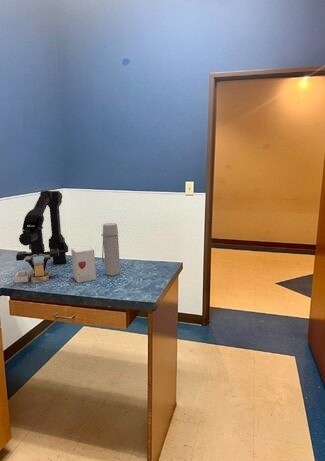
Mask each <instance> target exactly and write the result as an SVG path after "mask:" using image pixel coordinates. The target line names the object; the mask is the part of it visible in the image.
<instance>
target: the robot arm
mask: <svg viewBox="0 0 325 461" xmlns="http://www.w3.org/2000/svg"><path fill="white" fill-rule="evenodd" d="M62 201H63V193H61V192H60V190H41V191H40V193H39V196H38V199H37V200H36V202H35V204H34V207H33V208H32V209H31V210H29V211H28V212H27V213H26V215H25V217H24V220H23V224H22V228H21V229H22V233H20V235H19V238H18V240H19V243H20V244H21V245H23V246H25V247H27V246H28V249H29V250H30V252H28V253H27V251H18V252H17V253H16V255H15V260H16V261H25V263H26V262H27V263H28V264H29V265H30V267H31V269H32V271H33V273H35V270H34V265H35V261H34V258H35V257H43V263H44V271H45V272H46V268H47V264H48V261H49V260H51V258H52V263H53V264H54V266H55V265H63V264H67V261H68V260H67V254H66V253H69V245H68V244H67V243H66V240H65V239H66V238H65V237H64V235H63V234H62V229H61V217H60V216H61V215H60V206H61V205H62V203H63V202H62ZM47 207H48V208H49V216H50V217H49V218H50V229H51V231H50V232H51V236H50V237H49V238H48V249H49V250H48V251H46V249H45V244H44V239H43V238H44V237H43V236H44V235H43V229H44V227H43V225H44V221H45V216H44V214H45V213H44V212H46V209H47Z"/></svg>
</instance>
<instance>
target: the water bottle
mask: <svg viewBox="0 0 325 461" xmlns="http://www.w3.org/2000/svg"><path fill="white" fill-rule="evenodd" d="M101 237H102V255H101V257H102V258H101V259H102V264H104V268H105V269H104V271H105V274H106V275H107V276H117V275H119V274H120V272H121V266H120V264H121V263H120V261H121V260H120V249H119V248H120V244H119V230H118V225H117V223H116V222H106V223H103V224H102V233H101Z"/></svg>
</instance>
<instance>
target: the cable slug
mask: <svg viewBox="0 0 325 461" xmlns="http://www.w3.org/2000/svg"><path fill="white" fill-rule="evenodd" d="M18 272H19V274H18V276H19V277H21V276H26V275H27V272H28V271H27V270H19V271H18Z"/></svg>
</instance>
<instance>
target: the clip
mask: <svg viewBox="0 0 325 461" xmlns="http://www.w3.org/2000/svg"><path fill="white" fill-rule="evenodd" d="M19 272H20V271H18V272H17V271H16V273H15V275H14V277H13V278H14V283H15V284H16V283H17V284H18V283H26V282H29V280H30V279H31V273H30V272H31V271H27V275H26V276H21V277H19V276H18V274H19Z"/></svg>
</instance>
